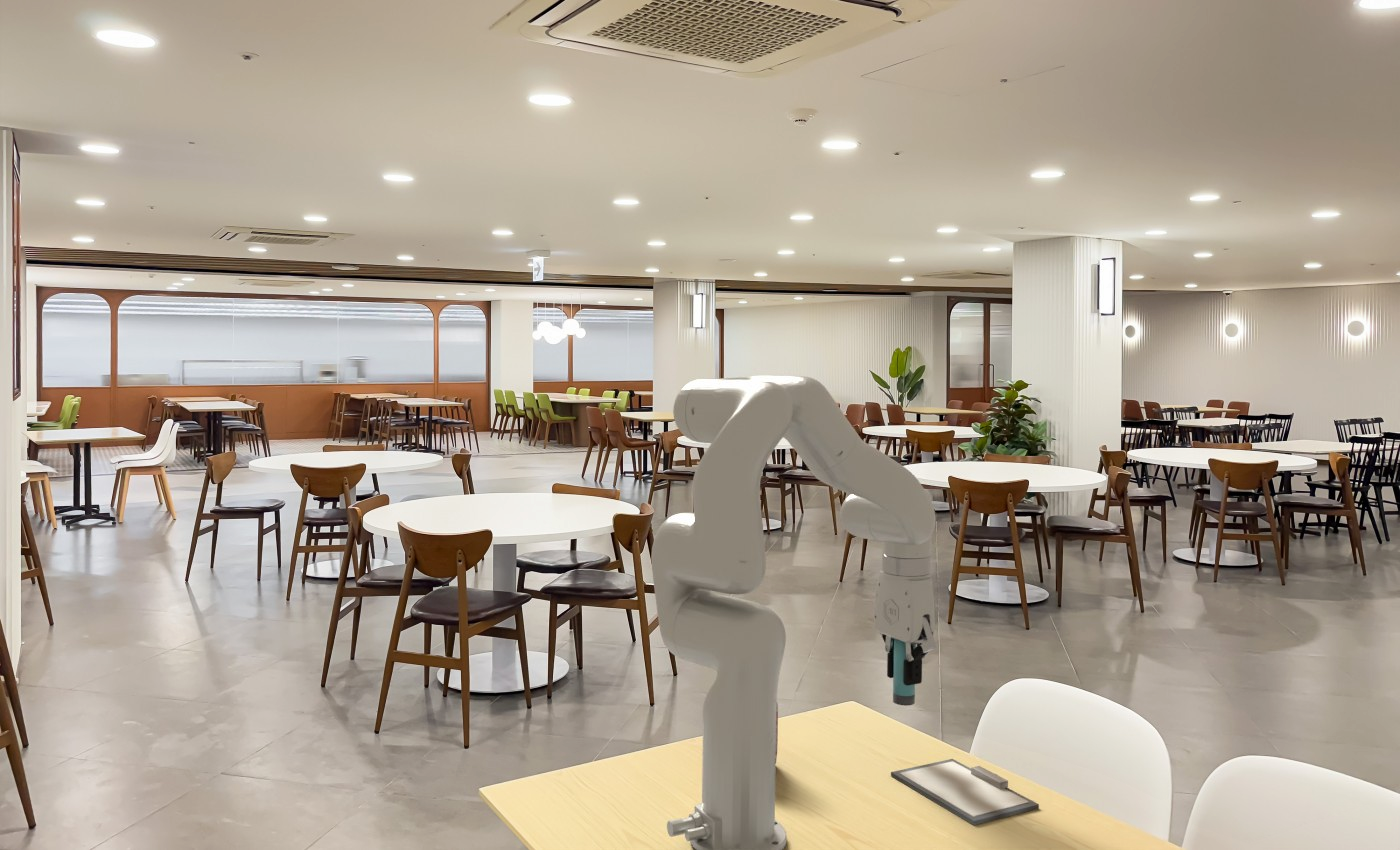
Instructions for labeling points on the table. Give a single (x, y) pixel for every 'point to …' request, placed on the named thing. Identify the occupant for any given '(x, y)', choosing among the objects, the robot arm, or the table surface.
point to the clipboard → (965, 790)
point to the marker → (901, 676)
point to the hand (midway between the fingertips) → (904, 679)
